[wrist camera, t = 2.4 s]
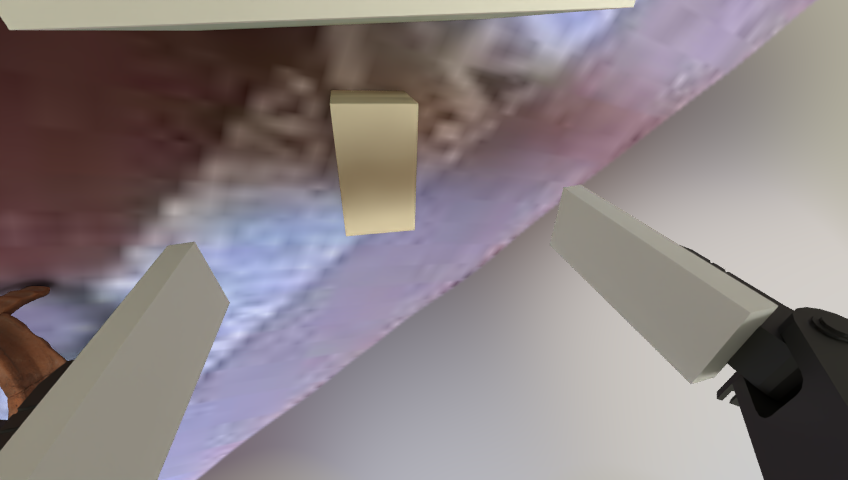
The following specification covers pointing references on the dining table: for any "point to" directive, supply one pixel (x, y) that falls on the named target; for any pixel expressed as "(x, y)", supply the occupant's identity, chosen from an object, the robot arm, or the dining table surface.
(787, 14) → the dining table surface
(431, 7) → the slot box
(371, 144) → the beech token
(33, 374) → the pottery mug
